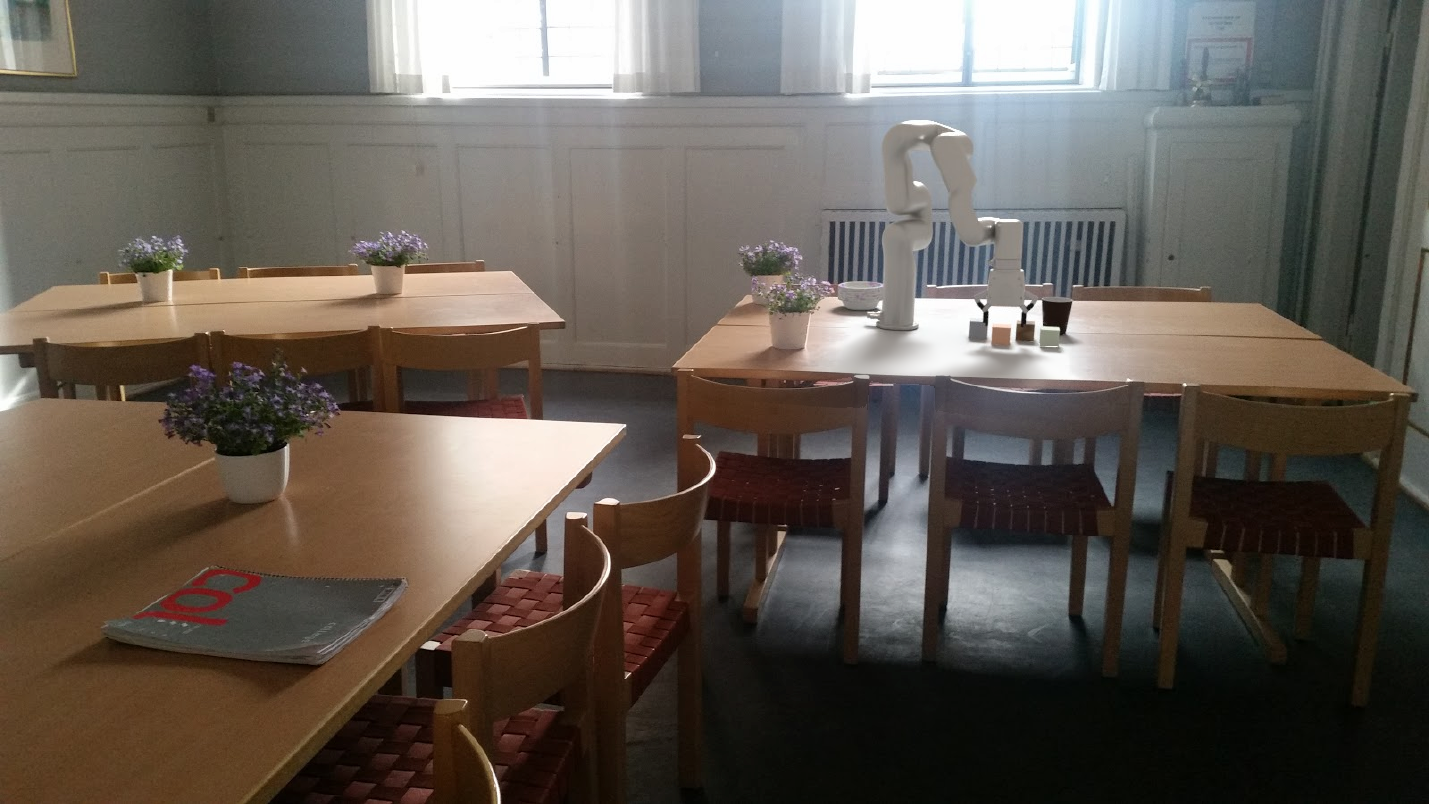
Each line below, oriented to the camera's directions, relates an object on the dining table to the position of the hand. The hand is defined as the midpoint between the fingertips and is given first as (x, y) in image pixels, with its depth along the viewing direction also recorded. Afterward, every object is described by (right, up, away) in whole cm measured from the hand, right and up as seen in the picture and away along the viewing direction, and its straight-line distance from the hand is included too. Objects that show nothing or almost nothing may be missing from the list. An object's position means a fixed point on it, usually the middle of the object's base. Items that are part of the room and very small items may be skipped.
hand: (1004, 326), depth 310 cm
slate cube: (-5, -2, +10) cm, 11 cm away
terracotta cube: (-1, -5, +2) cm, 5 cm away
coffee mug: (+20, -1, +17) cm, 26 cm away
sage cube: (+12, -6, -2) cm, 13 cm away
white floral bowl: (-33, +9, +53) cm, 64 cm away
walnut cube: (+8, -3, +7) cm, 11 cm away
